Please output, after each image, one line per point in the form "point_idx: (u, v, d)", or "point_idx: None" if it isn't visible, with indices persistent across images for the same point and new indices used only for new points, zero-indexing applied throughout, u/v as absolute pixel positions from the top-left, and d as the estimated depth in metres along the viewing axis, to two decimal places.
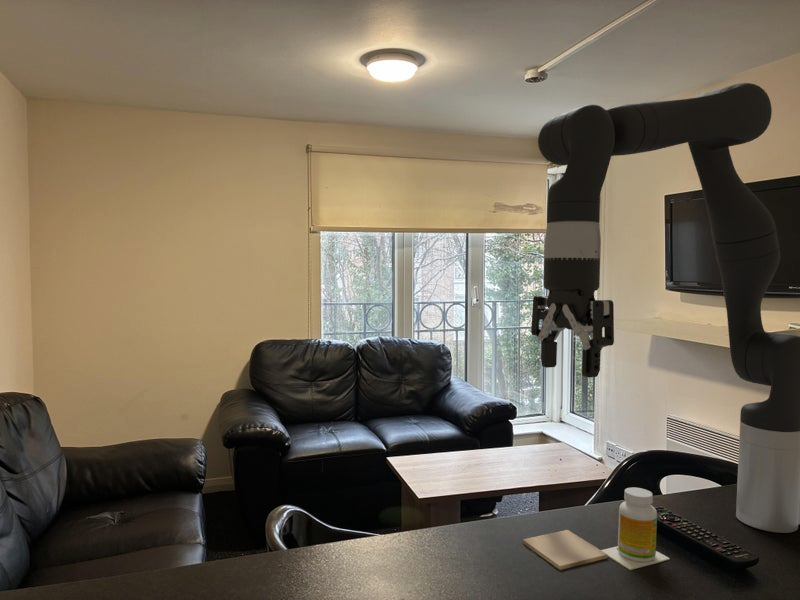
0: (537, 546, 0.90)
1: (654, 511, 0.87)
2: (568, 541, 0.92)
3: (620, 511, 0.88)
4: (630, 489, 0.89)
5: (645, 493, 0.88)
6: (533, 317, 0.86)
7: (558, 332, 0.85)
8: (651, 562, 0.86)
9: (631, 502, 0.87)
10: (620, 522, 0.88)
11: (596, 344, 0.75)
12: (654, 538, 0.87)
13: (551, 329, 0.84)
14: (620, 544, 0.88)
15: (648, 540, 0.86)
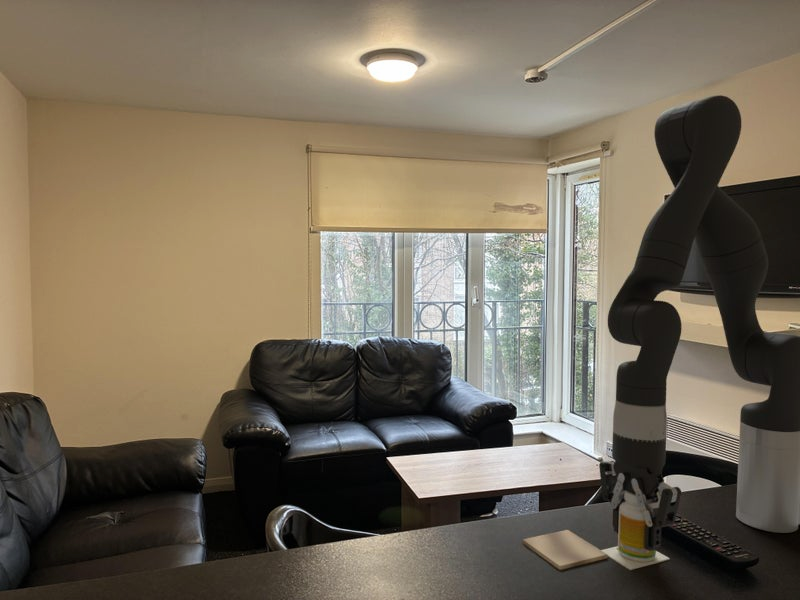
0: (537, 546, 0.90)
1: None
2: (568, 541, 0.92)
3: (620, 511, 0.88)
4: None
5: None
6: (602, 483, 0.93)
7: None
8: (651, 562, 0.86)
9: (631, 502, 0.87)
10: (620, 522, 0.88)
11: (659, 525, 0.83)
12: None
13: (622, 497, 0.90)
14: (620, 544, 0.88)
15: None
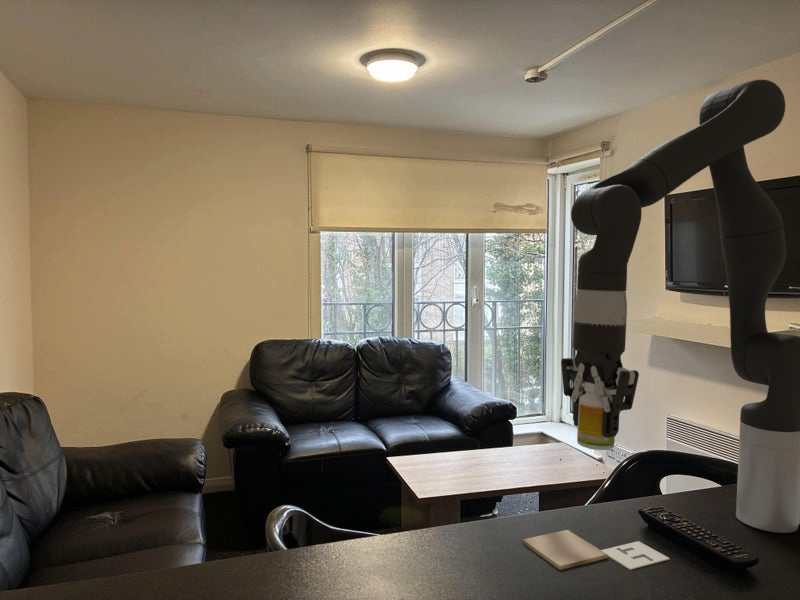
0: (537, 546, 0.90)
1: None
2: (568, 541, 0.92)
3: (580, 401, 0.88)
4: None
5: None
6: (564, 378, 0.93)
7: None
8: (651, 562, 0.86)
9: (591, 391, 0.87)
10: (579, 412, 0.88)
11: (616, 409, 0.83)
12: None
13: (582, 389, 0.89)
14: (579, 434, 0.88)
15: None
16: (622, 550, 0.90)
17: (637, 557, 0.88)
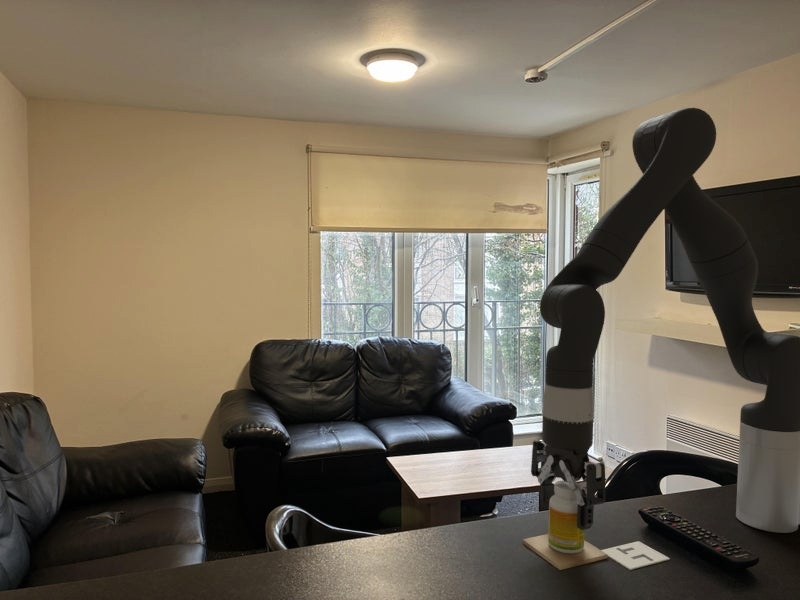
0: (537, 546, 0.90)
1: None
2: None
3: (550, 504, 0.90)
4: (560, 482, 0.91)
5: None
6: (533, 459, 0.95)
7: None
8: (651, 562, 0.86)
9: (560, 495, 0.88)
10: (549, 515, 0.90)
11: (589, 504, 0.83)
12: (581, 530, 0.88)
13: (549, 475, 0.92)
14: (549, 536, 0.90)
15: (575, 532, 0.87)
16: (622, 550, 0.90)
17: (637, 557, 0.88)
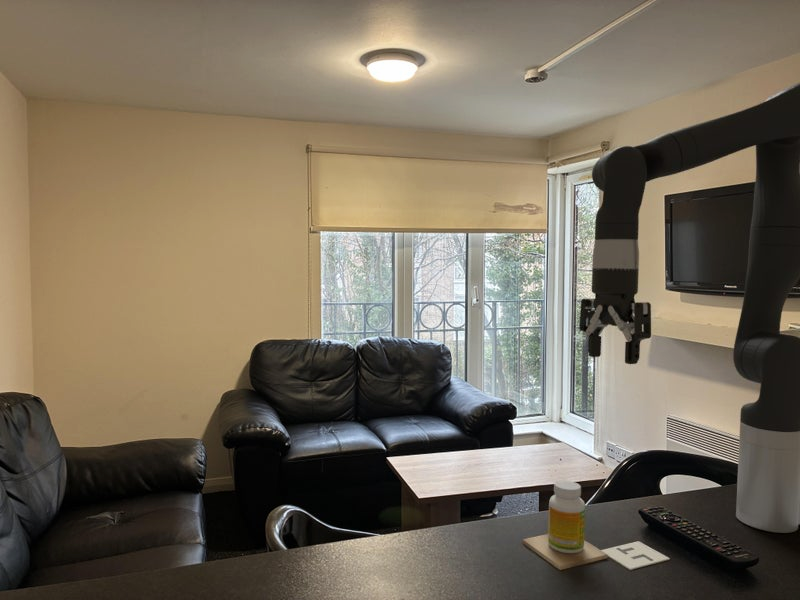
0: (537, 546, 0.90)
1: (582, 503, 0.88)
2: None
3: (549, 504, 0.90)
4: (560, 482, 0.91)
5: (573, 486, 0.89)
6: (581, 316, 1.06)
7: (602, 328, 1.04)
8: (651, 562, 0.86)
9: (559, 495, 0.88)
10: (549, 514, 0.90)
11: (637, 337, 0.94)
12: (581, 530, 0.88)
13: (597, 326, 1.03)
14: (549, 536, 0.90)
15: (575, 532, 0.87)
16: (622, 550, 0.90)
17: (637, 557, 0.88)
